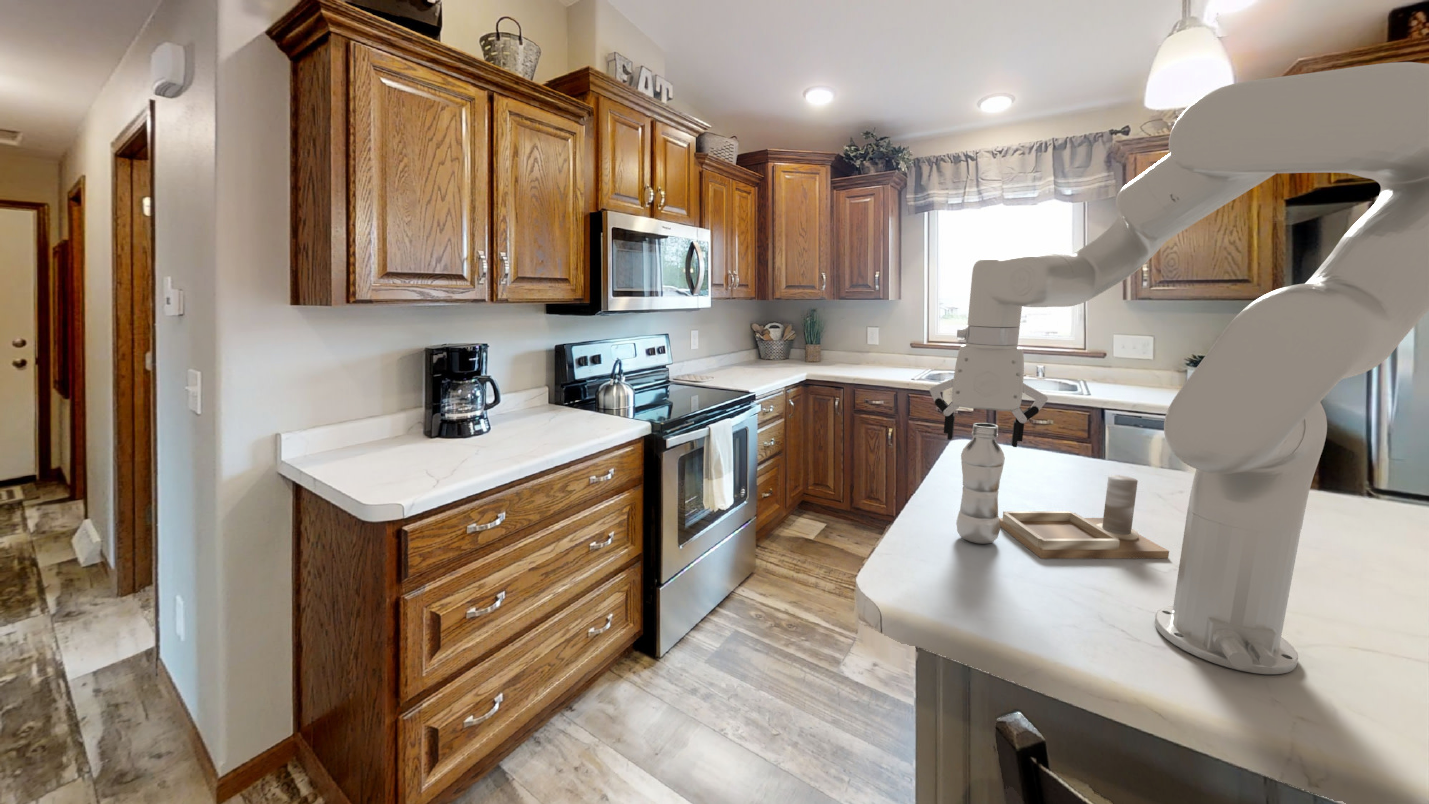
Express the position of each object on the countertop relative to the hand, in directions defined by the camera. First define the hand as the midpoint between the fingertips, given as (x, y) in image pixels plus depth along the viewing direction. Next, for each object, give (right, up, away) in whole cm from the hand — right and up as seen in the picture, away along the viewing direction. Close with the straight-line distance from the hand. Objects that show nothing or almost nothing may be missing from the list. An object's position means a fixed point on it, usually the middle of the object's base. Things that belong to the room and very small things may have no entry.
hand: (981, 441), depth 94 cm
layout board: (+17, -17, +2) cm, 24 cm away
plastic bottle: (0, -17, +2) cm, 17 cm away
